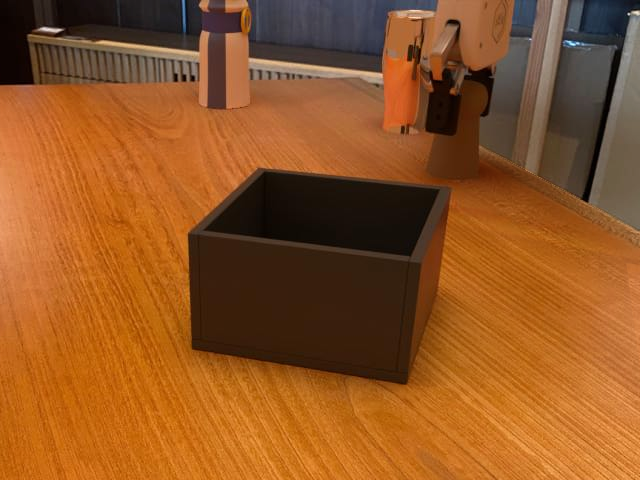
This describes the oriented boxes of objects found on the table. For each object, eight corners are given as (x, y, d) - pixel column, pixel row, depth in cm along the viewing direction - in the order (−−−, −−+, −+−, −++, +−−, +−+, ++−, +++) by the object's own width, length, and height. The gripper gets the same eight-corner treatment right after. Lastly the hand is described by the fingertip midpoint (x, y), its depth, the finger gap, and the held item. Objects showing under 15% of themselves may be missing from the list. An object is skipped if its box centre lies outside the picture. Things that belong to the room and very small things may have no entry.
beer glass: (437, 138, 109) (453, 12, 101) (418, 151, 104) (433, 19, 96) (387, 131, 112) (398, 8, 104) (366, 143, 107) (376, 15, 99)
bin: (437, 291, 69) (452, 186, 64) (406, 384, 56) (421, 262, 52) (257, 267, 73) (258, 167, 69) (191, 348, 61) (187, 232, 56)
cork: (420, 193, 90) (432, 86, 84) (423, 176, 95) (435, 74, 89) (478, 197, 89) (494, 89, 83) (478, 180, 94) (494, 77, 88)
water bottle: (260, 98, 128) (262, -92, 115) (243, 111, 121) (244, -90, 108) (209, 94, 130) (206, -93, 117) (190, 106, 123) (184, -90, 110)
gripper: (490, -56, 71) (460, 148, 81) (550, -66, 84) (518, 112, 93) (408, -60, 75) (389, 136, 84) (478, -69, 87) (454, 103, 96)
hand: (457, 123), depth 88 cm, fingers open, 8 cm apart
